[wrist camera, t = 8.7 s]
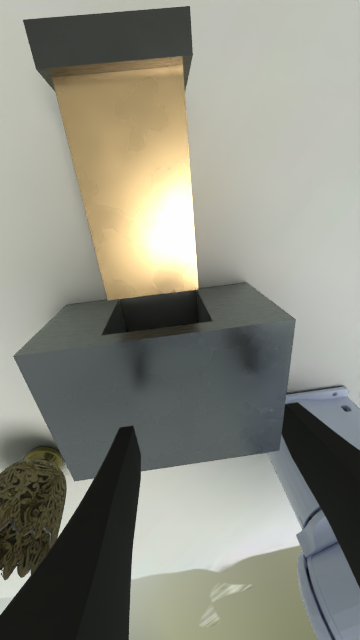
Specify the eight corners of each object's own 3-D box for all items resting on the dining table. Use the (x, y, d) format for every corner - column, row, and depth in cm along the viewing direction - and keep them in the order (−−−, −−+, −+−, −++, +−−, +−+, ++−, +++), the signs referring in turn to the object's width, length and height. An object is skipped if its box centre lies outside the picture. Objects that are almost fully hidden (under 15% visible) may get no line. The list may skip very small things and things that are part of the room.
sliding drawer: (177, 89, 13) (189, 6, 8) (192, 269, 17) (205, 291, 12) (77, 98, 13) (23, 20, 8) (117, 278, 17) (99, 305, 12)
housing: (247, 282, 18) (295, 319, 11) (244, 383, 22) (279, 450, 16) (66, 304, 17) (13, 356, 11) (99, 403, 22) (74, 481, 15)
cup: (94, 468, 25) (68, 569, 18) (31, 483, 26) (-20, 590, 18) (64, 422, 22) (18, 522, 15) (-8, 440, 22) (-87, 547, 15)
